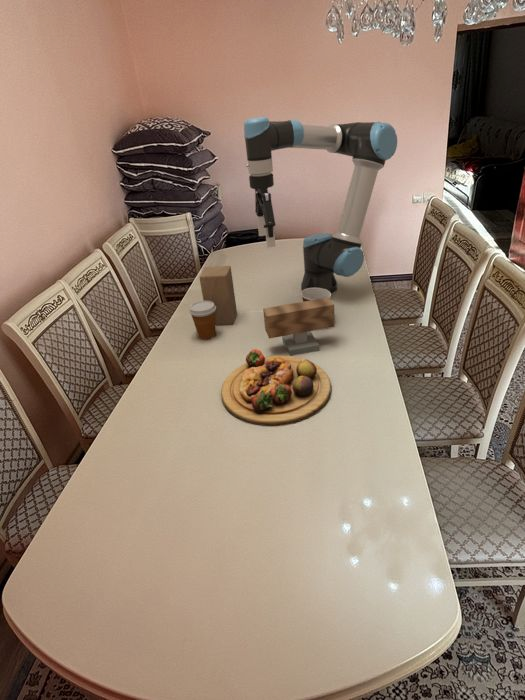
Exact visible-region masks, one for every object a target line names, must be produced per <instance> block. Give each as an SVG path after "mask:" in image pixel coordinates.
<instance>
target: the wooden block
mask: <svg viewBox="0 0 525 700" xmlns="http://www.w3.org/2000/svg"><path fill="white" fill-rule="evenodd" d="M198 279H199V282H200V288H201V296H202V301H211V302H213V303H214V305H215V306H216V310H215V323H216V326H230V325H234V323H235V320H236V317H237V313H238V309H237V304H236V296H235V288H234V282H233V281H234V280H233V272H232V267H231V265H218V266H205V267H204V268H203V270H202V272H201V273H200V275H199V278H198Z"/></svg>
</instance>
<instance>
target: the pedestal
mask: <svg viewBox="0 0 525 700" xmlns="http://www.w3.org/2000/svg"><path fill="white" fill-rule="evenodd" d="M281 337H282V343H283V344H284V346H285V349H286V351H287V353H288V354H289V355H288V356H296V355H300V354H307V353H310V352H311V353H312V352H317V351H320V343H319V342H318V341H317V339H316V338H315V336H314V334H313V333H312V331H309V332H303V333H298V334H292V335H287V336H281Z"/></svg>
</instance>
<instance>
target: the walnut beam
mask: <svg viewBox="0 0 525 700" xmlns="http://www.w3.org/2000/svg"><path fill="white" fill-rule="evenodd" d="M262 311H263V312H262V313H263V319H264V321H263V322H264V329H265V332H266V335H267V337H268V339H269V340H270V339H275V338H279V337H282V336H287V335H292V334H298V333H303V332H309V331H311V332H313V331H318V330H325V329H329V328H335V327H336V326H335V324H336V323H335V321H336V320H335V303H334V302H333V301H332V300H331V298H322V299H316V300H310V301H304V302H303V301H298V302H294V303H288V304H283V305H281V304H280V305H277V306H271V307H264V308H262Z"/></svg>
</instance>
